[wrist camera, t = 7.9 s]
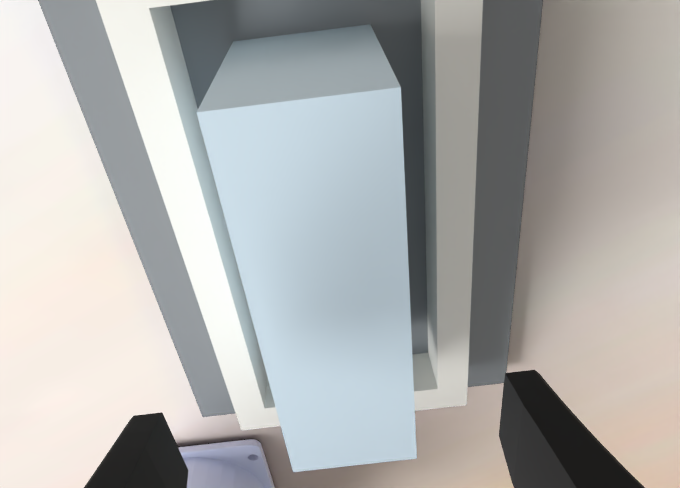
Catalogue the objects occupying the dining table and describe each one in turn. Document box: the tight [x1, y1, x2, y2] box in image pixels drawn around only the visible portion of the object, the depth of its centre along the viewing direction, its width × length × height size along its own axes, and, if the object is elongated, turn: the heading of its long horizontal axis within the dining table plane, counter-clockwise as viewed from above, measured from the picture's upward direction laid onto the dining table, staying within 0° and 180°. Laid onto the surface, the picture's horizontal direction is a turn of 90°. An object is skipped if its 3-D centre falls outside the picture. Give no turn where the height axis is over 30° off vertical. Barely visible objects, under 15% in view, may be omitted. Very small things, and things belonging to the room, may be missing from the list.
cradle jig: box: [38, 0, 543, 431], centre depth 18 cm, size 20×14×3 cm
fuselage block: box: [196, 24, 417, 472], centre depth 16 cm, size 12×4×6 cm, turn 6°
